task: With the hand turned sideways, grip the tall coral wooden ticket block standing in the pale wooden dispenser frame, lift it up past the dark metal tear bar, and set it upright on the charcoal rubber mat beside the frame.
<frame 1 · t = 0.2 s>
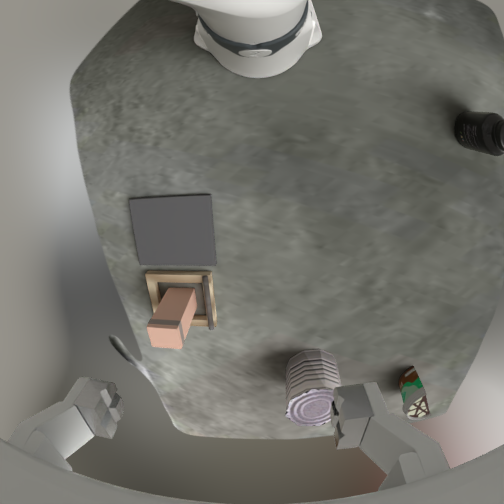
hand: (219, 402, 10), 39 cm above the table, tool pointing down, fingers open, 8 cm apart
mat: (173, 231, 49), on the table
dispenser frame: (182, 297, 54), on the table
can: (311, 366, 60), on the table
ticket block: (182, 297, 54), resting in dispenser frame
food container: (405, 380, 62), on the table
supplement bottle: (467, 129, 38), on the table
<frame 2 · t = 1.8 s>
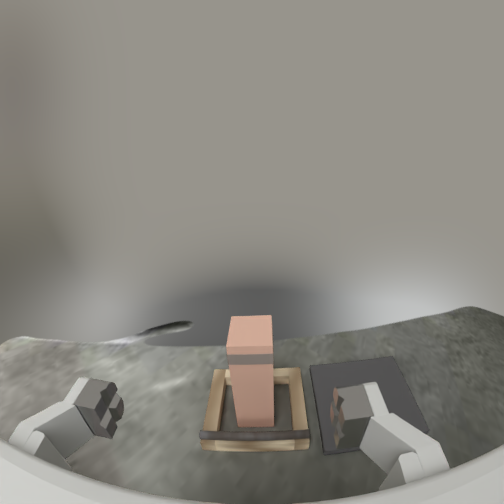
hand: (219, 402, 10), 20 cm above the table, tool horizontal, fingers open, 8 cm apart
mat: (364, 401, 31), on the table
dispenser frame: (256, 410, 31), on the table
ticket block: (256, 411, 31), resting in dispenser frame
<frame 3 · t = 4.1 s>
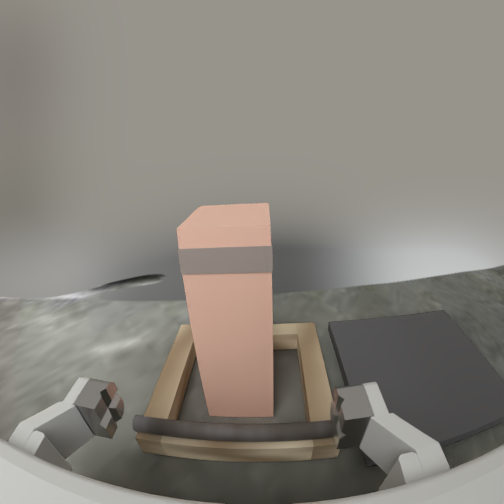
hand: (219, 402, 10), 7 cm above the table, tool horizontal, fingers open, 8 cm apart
mat: (419, 372, 18), on the table
dispenser frame: (243, 389, 19), on the table
ticket block: (243, 389, 19), resting in dispenser frame
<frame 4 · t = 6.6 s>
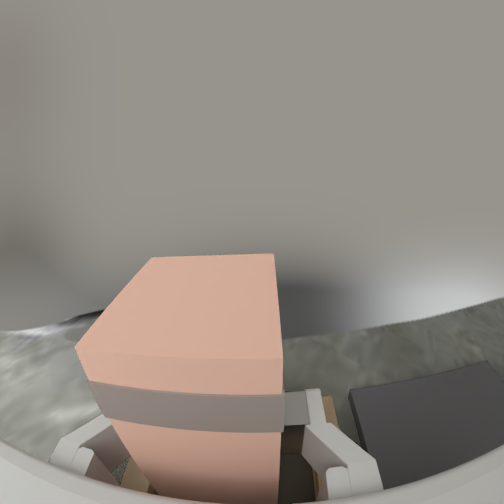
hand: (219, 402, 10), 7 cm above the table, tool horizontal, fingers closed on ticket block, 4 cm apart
mat: (462, 456, 11), on the table
dispenser frame: (235, 495, 11), on the table
ticket block: (235, 495, 11), resting in dispenser frame, touching gripper
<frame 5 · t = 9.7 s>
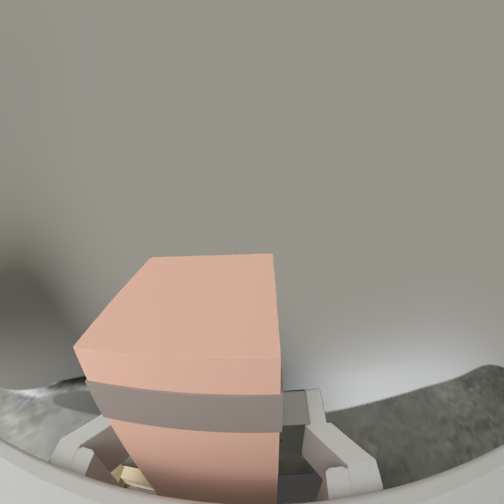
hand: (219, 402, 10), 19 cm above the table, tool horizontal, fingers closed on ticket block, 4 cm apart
ticket block: (234, 495, 11), point 11 cm above the table, touching gripper
when the fingers open (9 cm above the table, at t = 12.9 s): ticket block drops 1 cm, resting on mat.
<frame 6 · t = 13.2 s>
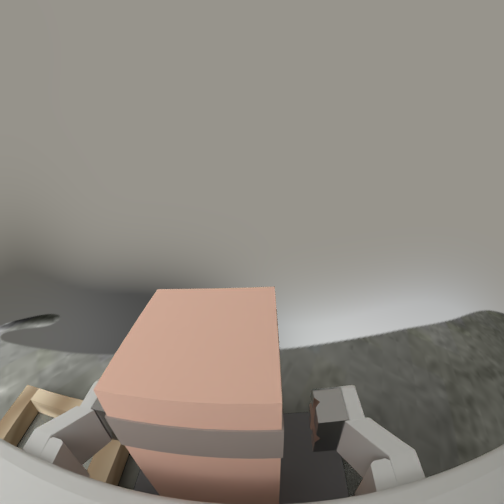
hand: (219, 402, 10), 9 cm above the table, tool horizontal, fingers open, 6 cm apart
dispenser frame: (50, 465, 12), on the table
ticket block: (238, 502, 12), point 1 cm above the table, touching mat
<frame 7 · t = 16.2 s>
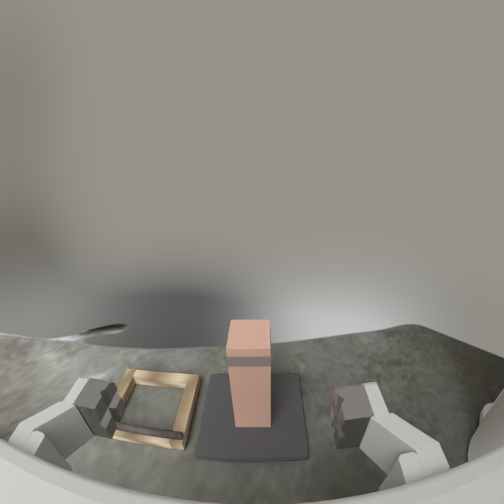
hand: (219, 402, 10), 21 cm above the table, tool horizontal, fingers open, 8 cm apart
mat: (253, 415, 33), on the table
dispenser frame: (152, 409, 33), on the table
ticket block: (253, 411, 32), point 1 cm above the table, touching mat
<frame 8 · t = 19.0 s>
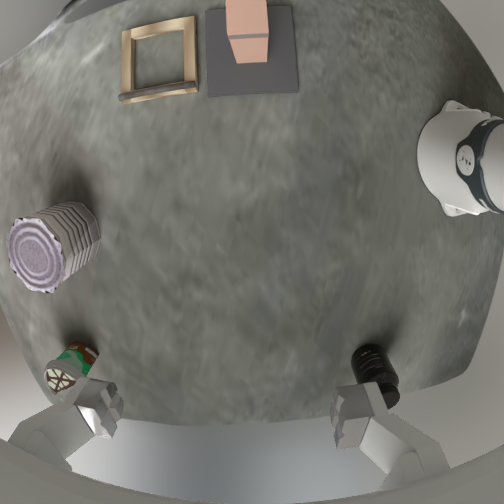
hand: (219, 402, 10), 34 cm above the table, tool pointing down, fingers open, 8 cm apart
mat: (250, 48, 34), on the table
dispenser frame: (159, 59, 35), on the table
can: (74, 232, 44), on the table
ticket block: (250, 46, 33), point 1 cm above the table, touching mat
food container: (78, 349, 53), on the table
supplement bottle: (367, 356, 50), on the table
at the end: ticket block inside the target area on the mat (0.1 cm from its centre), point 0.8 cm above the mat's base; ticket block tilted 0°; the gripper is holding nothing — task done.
